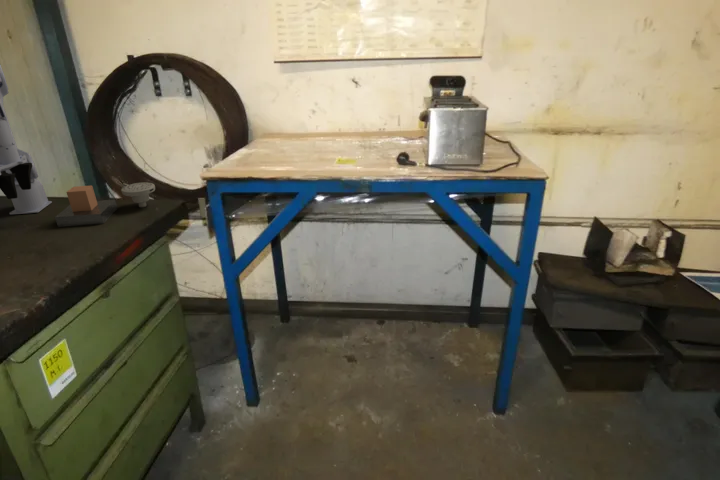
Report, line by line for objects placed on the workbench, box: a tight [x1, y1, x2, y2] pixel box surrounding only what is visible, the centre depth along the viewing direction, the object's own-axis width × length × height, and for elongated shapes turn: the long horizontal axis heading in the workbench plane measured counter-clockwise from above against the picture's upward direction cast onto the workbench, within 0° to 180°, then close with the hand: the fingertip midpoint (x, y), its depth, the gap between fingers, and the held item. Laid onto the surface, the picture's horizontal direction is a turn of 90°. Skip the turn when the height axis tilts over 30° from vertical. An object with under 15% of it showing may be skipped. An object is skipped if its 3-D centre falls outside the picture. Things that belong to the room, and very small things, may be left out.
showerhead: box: [120, 181, 156, 208], centre depth 133 cm, size 9×7×10 cm
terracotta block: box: [66, 185, 98, 212], centre depth 123 cm, size 5×5×6 cm
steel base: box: [54, 199, 118, 228], centre depth 125 cm, size 12×12×3 cm
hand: (19, 193), depth 118 cm, fingers open, 7 cm apart
